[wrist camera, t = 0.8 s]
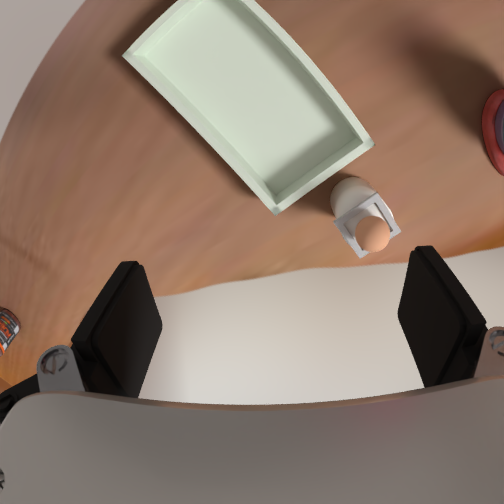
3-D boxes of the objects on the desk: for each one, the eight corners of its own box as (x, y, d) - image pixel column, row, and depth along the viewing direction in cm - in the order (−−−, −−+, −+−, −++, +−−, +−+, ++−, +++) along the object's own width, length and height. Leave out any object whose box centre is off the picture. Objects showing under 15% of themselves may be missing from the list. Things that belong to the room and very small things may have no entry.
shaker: (359, 167, 31) (378, 190, 25) (382, 203, 33) (403, 231, 27) (320, 194, 33) (330, 222, 27) (346, 228, 35) (359, 261, 29)
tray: (223, -21, 21) (217, -32, 18) (364, 137, 29) (375, 144, 26) (136, 56, 26) (121, 55, 23) (275, 202, 34) (275, 215, 31)
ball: (373, 203, 26) (384, 218, 23) (389, 228, 27) (400, 245, 25) (345, 222, 27) (352, 240, 25) (362, 246, 28) (370, 265, 26)
